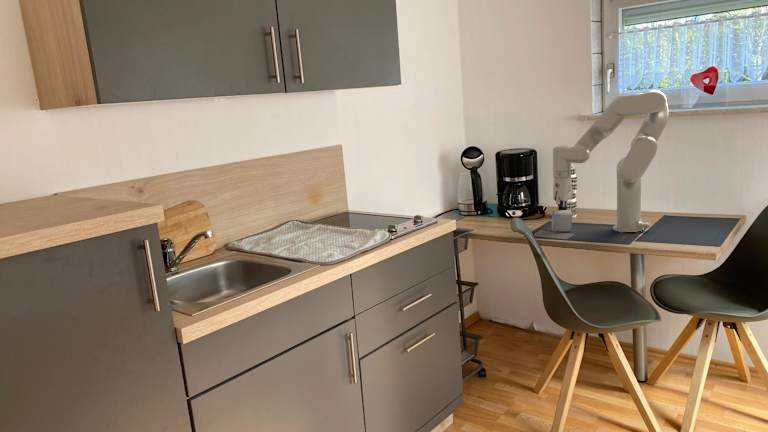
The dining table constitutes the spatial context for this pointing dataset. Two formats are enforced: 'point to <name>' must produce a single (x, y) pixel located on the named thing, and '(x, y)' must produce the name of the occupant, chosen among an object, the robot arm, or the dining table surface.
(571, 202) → the decorative candle
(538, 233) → the mat
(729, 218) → the dining table surface
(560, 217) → the medicine box
